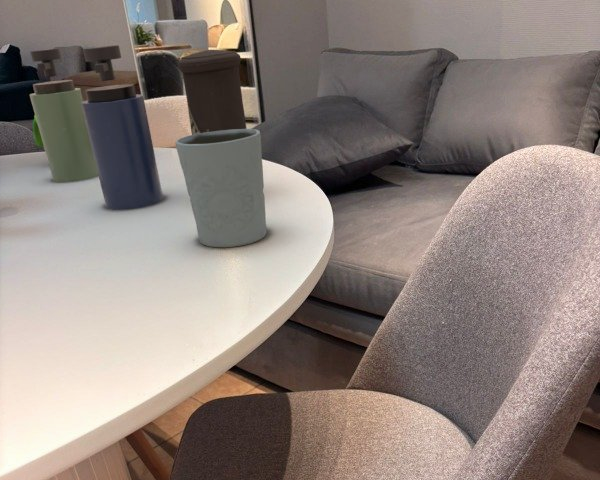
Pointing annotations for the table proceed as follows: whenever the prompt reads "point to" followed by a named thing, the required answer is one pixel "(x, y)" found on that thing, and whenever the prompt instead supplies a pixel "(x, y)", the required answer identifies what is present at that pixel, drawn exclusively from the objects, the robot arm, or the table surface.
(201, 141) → the grey-green cup
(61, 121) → the sage flask
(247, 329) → the table surface
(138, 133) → the navy lidded canister
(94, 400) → the table surface
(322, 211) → the table surface
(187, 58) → the container
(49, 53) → the sage flask pump
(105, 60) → the navy flask pump
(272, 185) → the table surface
